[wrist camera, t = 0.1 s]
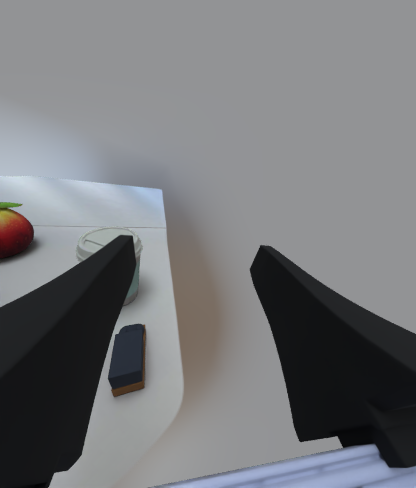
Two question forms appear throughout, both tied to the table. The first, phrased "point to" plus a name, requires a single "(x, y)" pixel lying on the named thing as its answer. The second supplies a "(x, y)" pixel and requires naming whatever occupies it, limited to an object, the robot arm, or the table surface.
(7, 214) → the fruit
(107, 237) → the coffee cup
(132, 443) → the table surface
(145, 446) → the table surface
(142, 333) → the cube on wooden base
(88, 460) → the table surface
